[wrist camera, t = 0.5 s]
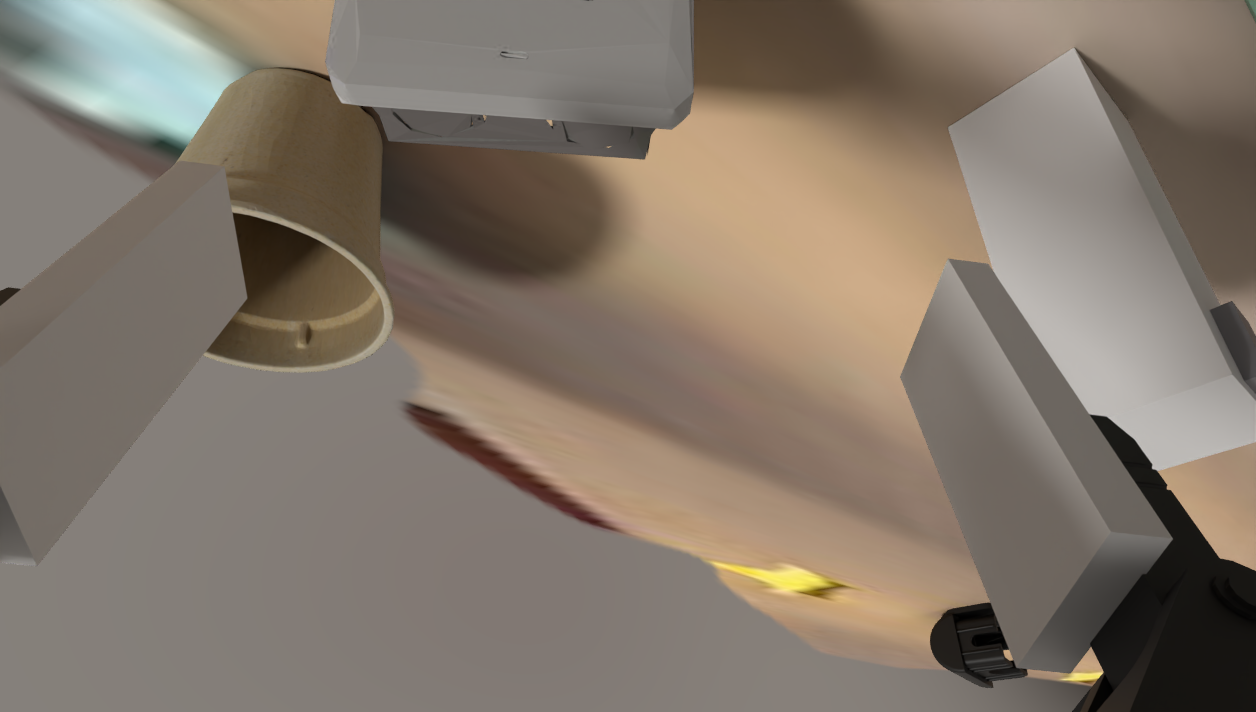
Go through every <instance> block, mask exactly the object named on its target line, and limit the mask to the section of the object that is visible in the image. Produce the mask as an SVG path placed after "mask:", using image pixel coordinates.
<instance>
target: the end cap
mask: <svg viewBox="0 0 1256 712" xmlns="http://www.w3.org/2000/svg"><path fill="white" fill-rule="evenodd" d="M930 645H931V650H932V653H933V655H934V657H935V658H936V660H937V661H938V662H939V663H940V664H941V665H942V666H943V667H945V668H946V669H948V670H950V671H951V672H953V673H956V674H957V675H959V676H961V677H963V678H965V679H966V680H968V681H971V682H972V683H974V684H976V685H978V686H981V687H986V688H993V683H992V681H996V680H1004V679H1012V678H1020V677H1025V676H1027V675H1028V673H1027V669H1022V668H1016V665H1015V663H1014V660H1013V661H1009V660H1008V659H1006V658H1005V656H1004V653H1003V650H1009V648H1008V645H1007V643H1006V640H1005V638H1004V635H1003V633H1002V630H1001V628H1000V625H999V623H998V620H997V618H996V615H995V613H994V610H993V608H992V605H991V603H982V604H977V605H971V606H965V607H960V608H954V609H951V610H948V611H947V612H946V613H945V614H944V615H943V616H942V617H941V619H940V620H939V621H938V622H937V623H936V624H935V626H934V627H933V629H932V632H931V636H930Z"/></svg>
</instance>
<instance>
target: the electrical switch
mask: <svg viewBox="0 0 1256 712" xmlns="http://www.w3.org/2000/svg"><path fill="white" fill-rule="evenodd" d="M325 63H326V66H327V69H328V73H329V76H330V80H331V83H332V86H333V89H334V91H335V92H336V94H337V96H338V98H339V99H340V101H341V103H345V104H352V105H360V106H371V107H372V108H373V109H374V110H375V111H376V112H377V113H378V114H379V116H380V119H381V122H382V124H383V127H384V130H385V133H386V136H387V138H388V141H394V142H408V143H422V144H436V145H450V146H464V147H478V148H492V149H506V150H520V151H534V152H548V153H562V154H576V155H590V156H604V157H618V158H632V159H645V157H646V153H647V155H648V149H649V143H650V137H651V134H652V133H653V131H654V130H655V129H656V128H658V129H670V130H672V129H673V128H674V127H676V126H677V125H678V124H679V123H680V122H682V121H683V120H684V119H685V118H686V117H687V116H688V115H689V114H690V110H691V103H692V98H693V93H694V0H335V3H334V9H333V16H332V22H331V28H330V35H329V41H328V47H327V54H326V60H325ZM483 115H485V116H487V117H486V120H485V121H484V118H483ZM546 120H552V123H553V126H550V125H549V123H548V122H547V121H546ZM404 122H406V123H407V124H405V123H404ZM472 122H473V125H471V124H472ZM440 136H443V137H440ZM607 146H611V147H610V148H607Z"/></svg>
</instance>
